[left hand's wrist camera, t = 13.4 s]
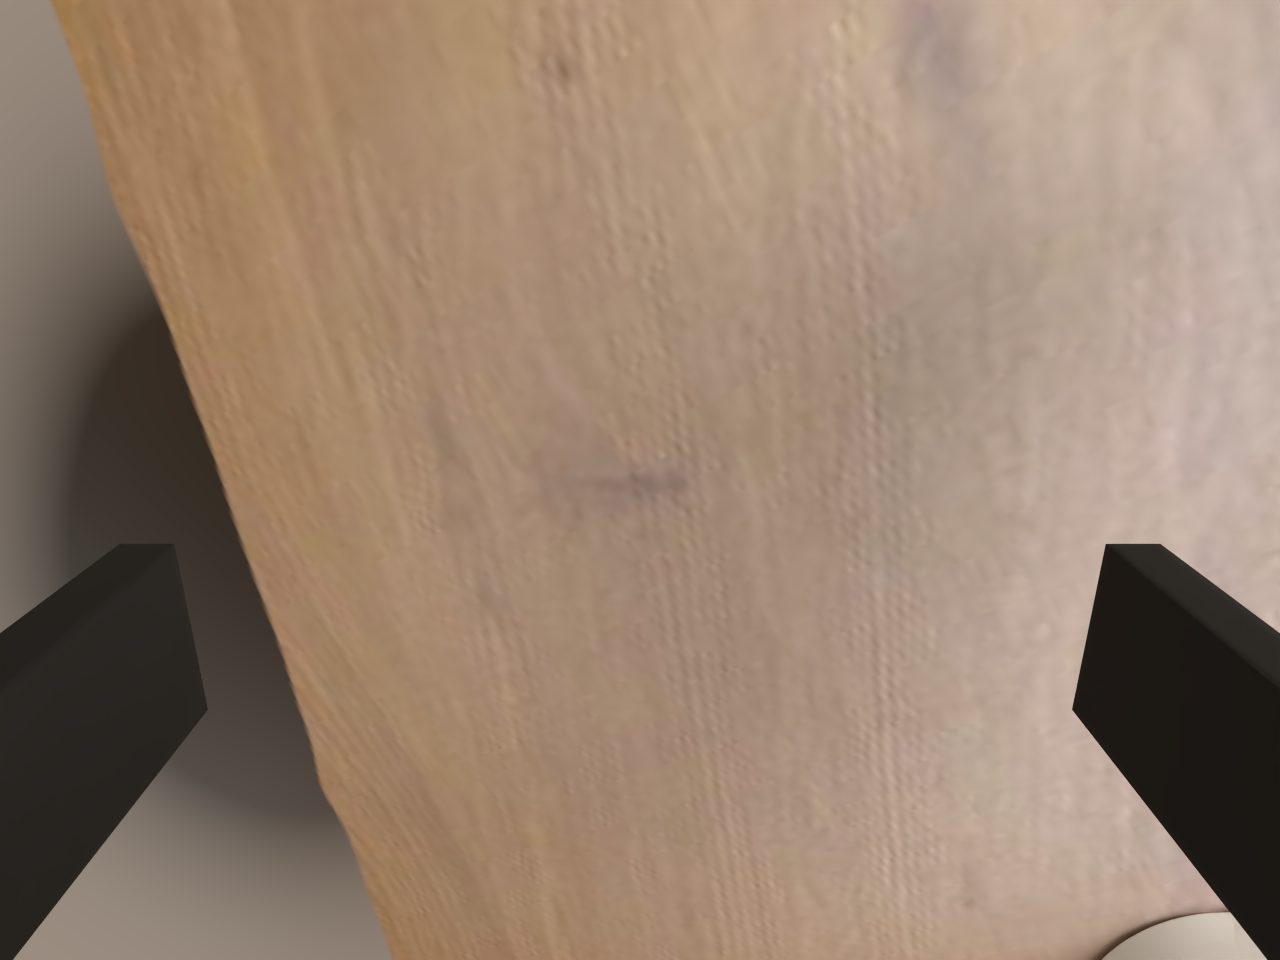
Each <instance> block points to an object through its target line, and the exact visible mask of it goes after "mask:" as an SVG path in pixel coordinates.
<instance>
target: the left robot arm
mask: <svg viewBox="0 0 1280 960" xmlns="http://www.w3.org/2000/svg"><path fill="white" fill-rule="evenodd" d="M207 710H208V708H207V703H206V698H205V693H204V688H203V683H202V679H201V674H200V669H199V664H198V659H197V654H196V649H195V644H194V639H193V634H192V629H191V625H190V620H189V615H188V610H187V605H186V600H185V595H184V590H183V585H182V580H181V575H180V571H179V566H178V561H177V556H176V551H175V546H174V544H119V545H118V546H116V547H115V548H114V549H112V550H111V551H110V552H108V553H107V554H106V555H104V556H103V557H102V558H100V559H99V560H98V561H96V562H95V563H94V564H92V565H91V566H90V567H88V568H87V569H86V570H84V571H83V572H82V573H80V574H79V575H78V576H76V577H75V578H74V579H72V580H71V581H70V582H68V583H67V584H66V585H64V586H63V587H62V588H60V589H59V590H58V591H56V592H55V593H54V594H52V595H51V596H50V597H48V598H47V599H45V600H44V601H43V602H41V603H40V604H39V605H37V606H36V607H35V608H33V609H32V610H31V611H29V612H28V613H27V614H25V615H24V616H23V617H21V618H20V619H19V620H17V621H16V622H15V623H13V624H12V625H11V626H9V627H8V628H7V629H5V630H4V631H3V632H1V633H0V960H13V959H14V958H15V956H16V955H17V954H18V952H19V951H20V950H21V949H22V947H23V946H24V945H25V943H26V942H27V941H28V940H29V938H30V937H31V936H32V935H33V933H34V932H35V931H36V929H37V928H38V927H39V926H40V924H41V923H42V922H43V920H44V919H45V918H46V917H47V915H48V914H49V913H50V911H51V910H52V909H53V908H54V906H55V905H56V904H57V902H58V901H59V900H60V899H61V897H62V896H63V895H64V893H65V892H66V891H67V890H68V888H69V887H70V886H71V884H72V883H73V882H74V881H75V879H76V878H77V877H78V875H79V874H80V873H81V872H82V870H83V869H84V868H85V866H86V865H87V864H88V863H89V861H90V860H91V859H92V858H93V856H94V855H95V854H96V852H97V851H98V850H99V848H100V847H101V846H102V845H103V843H104V842H105V841H106V840H107V838H108V837H109V836H110V834H111V833H112V832H113V830H114V829H115V828H116V827H117V825H118V824H119V823H120V822H121V820H122V819H123V818H124V816H125V815H126V814H127V813H128V811H129V810H130V809H131V807H132V806H133V805H134V804H135V802H136V801H137V800H138V798H139V797H140V796H141V795H142V793H143V792H144V791H145V789H146V788H147V787H148V786H149V784H150V783H151V782H152V781H153V779H154V778H155V777H156V775H157V774H158V773H159V772H160V770H161V769H162V768H163V766H164V765H165V764H166V762H167V761H168V760H169V759H170V757H171V756H172V755H173V753H174V752H175V751H176V750H177V748H178V747H179V746H180V745H181V743H182V742H183V741H184V739H185V738H186V737H187V736H188V734H189V733H190V732H191V730H192V729H193V728H194V727H195V725H196V724H197V723H198V721H199V720H200V719H201V718H202V716H203V715H204V714H205V713H206V711H207ZM1072 710H1073V711H1074V713H1075V714H1076V715H1077V716H1078V718H1079V719H1080V720H1081V721H1082V723H1083V724H1084V725H1085V727H1086V728H1087V729H1088V730H1089V732H1090V733H1091V734H1092V736H1093V737H1094V738H1095V739H1096V741H1097V742H1098V743H1099V745H1100V746H1101V747H1102V748H1103V750H1104V751H1105V752H1106V754H1107V755H1108V756H1109V757H1110V759H1111V760H1112V761H1113V763H1114V764H1115V765H1116V766H1117V768H1118V769H1119V770H1120V772H1121V773H1122V774H1123V775H1124V777H1125V778H1126V779H1127V781H1128V782H1129V783H1130V784H1131V786H1132V787H1133V788H1134V790H1135V791H1136V792H1137V793H1138V795H1139V796H1140V797H1141V798H1142V800H1143V801H1144V802H1145V804H1146V805H1147V806H1148V807H1149V809H1150V810H1151V811H1152V813H1153V814H1154V815H1155V816H1156V818H1157V819H1158V820H1159V822H1160V823H1161V824H1162V825H1163V827H1164V828H1165V829H1166V831H1167V832H1168V833H1169V834H1170V836H1171V837H1172V838H1173V840H1174V841H1175V842H1176V843H1177V845H1178V846H1179V847H1180V849H1181V850H1182V851H1183V852H1184V854H1185V855H1186V856H1187V858H1188V859H1189V860H1190V861H1191V863H1192V864H1193V865H1194V866H1195V868H1196V869H1197V870H1198V872H1199V873H1200V874H1201V875H1202V877H1203V878H1204V879H1205V881H1206V882H1207V883H1208V884H1209V886H1210V887H1211V888H1212V890H1213V891H1214V892H1215V893H1216V895H1217V896H1218V897H1219V899H1220V900H1221V901H1222V902H1223V904H1224V905H1225V906H1226V908H1227V909H1228V910H1229V911H1230V913H1231V914H1232V915H1233V917H1234V918H1235V919H1236V920H1237V922H1238V923H1239V924H1240V926H1241V927H1242V928H1243V929H1244V931H1245V932H1246V933H1247V935H1248V936H1249V937H1250V938H1251V940H1252V941H1253V942H1254V943H1255V945H1256V946H1257V947H1258V949H1259V950H1260V951H1261V952H1262V954H1263V955H1264V956H1265V958H1266V959H1267V960H1280V633H1279V632H1277V631H1276V630H1275V629H1273V628H1272V627H1271V626H1269V625H1268V624H1267V623H1265V622H1264V621H1263V620H1261V619H1260V618H1259V617H1257V616H1256V615H1255V614H1253V613H1252V612H1251V611H1249V610H1248V609H1247V608H1245V607H1244V606H1243V605H1241V604H1240V603H1239V602H1237V601H1236V600H1235V599H1233V598H1232V597H1231V596H1229V595H1228V594H1227V593H1225V592H1224V591H1222V590H1221V589H1220V588H1218V587H1217V586H1216V585H1214V584H1213V583H1212V582H1210V581H1209V580H1208V579H1206V578H1205V577H1204V576H1202V575H1201V574H1200V573H1198V572H1197V571H1196V570H1194V569H1193V568H1192V567H1190V566H1189V565H1188V564H1186V563H1185V562H1184V561H1182V560H1181V559H1180V558H1178V557H1177V556H1176V555H1174V554H1173V553H1172V552H1170V551H1169V550H1168V549H1166V548H1165V547H1164V546H1162V545H1161V544H1106V546H1105V551H1104V556H1103V561H1102V566H1101V571H1100V575H1099V580H1098V585H1097V590H1096V595H1095V600H1094V605H1093V610H1092V615H1091V620H1090V625H1089V629H1088V634H1087V639H1086V644H1085V649H1084V654H1083V659H1082V664H1081V669H1080V674H1079V679H1078V683H1077V688H1076V693H1075V698H1074V703H1073V708H1072Z"/></svg>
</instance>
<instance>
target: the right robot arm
mask: <svg viewBox="0 0 1280 960" xmlns="http://www.w3.org/2000/svg"><path fill="white" fill-rule="evenodd" d="M1102 960H1267V959H1266V958H1265V956H1264V955H1263V954H1262V952H1261V951H1260V950H1259V949H1258V947H1257V946H1256V945H1255V943H1254V942H1253V941H1252V940H1251V938H1250V937H1249V936H1248V935H1247V933H1246V932H1245V931H1244V929H1243V928H1242V927H1241V926H1240V924H1239V923H1238V922H1237V920H1236V919H1235V918H1234V917H1233V915H1232V914H1231V913H1230V912H1217V913H1203V914H1195V915H1189V916H1184V917H1180V918H1176V919H1172V920H1169V921H1166V922H1162V923H1160V924H1157V925H1154V926H1152V927H1150V928H1147V929H1145V930H1143V931H1141V932H1139V933H1137V934H1135V935H1134V936H1132V937H1130V938H1129V939H1127V940H1125V941H1124V942H1122V943H1121V944H1120V945H1118V946H1117V947H1115V948H1114V949H1113V950H1112V951H1110V952H1109V953H1108V954H1107V955H1106V956H1105V957H1104V958H1103V959H1102Z"/></svg>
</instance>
